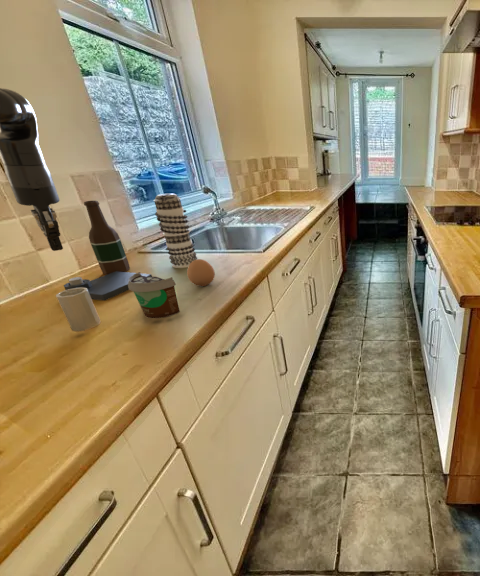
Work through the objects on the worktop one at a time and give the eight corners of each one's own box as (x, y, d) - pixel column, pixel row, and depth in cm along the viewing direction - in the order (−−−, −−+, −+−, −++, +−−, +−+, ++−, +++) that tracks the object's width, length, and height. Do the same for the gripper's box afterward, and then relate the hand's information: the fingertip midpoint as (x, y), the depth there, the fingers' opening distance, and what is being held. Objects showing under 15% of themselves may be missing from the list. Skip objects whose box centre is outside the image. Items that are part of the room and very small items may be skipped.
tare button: (68, 285, 92) (65, 280, 91) (78, 282, 94) (76, 276, 94) (76, 286, 91) (73, 280, 91) (86, 282, 94) (83, 277, 93)
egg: (222, 283, 101) (216, 257, 98) (201, 291, 95) (194, 265, 91) (206, 279, 104) (200, 254, 100) (185, 287, 98) (177, 261, 94)
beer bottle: (129, 265, 116) (105, 198, 106) (131, 271, 111) (106, 201, 101) (102, 270, 112) (74, 201, 102) (103, 277, 106) (73, 204, 96)
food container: (127, 316, 81) (113, 280, 77) (150, 305, 87) (138, 271, 83) (162, 324, 78) (150, 286, 74) (184, 312, 83) (173, 277, 79)
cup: (65, 330, 75) (49, 296, 72) (89, 319, 80) (74, 286, 77) (84, 332, 74) (68, 298, 71) (106, 321, 79) (92, 288, 76)
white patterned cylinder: (175, 261, 121) (155, 193, 110) (201, 259, 123) (184, 192, 112) (166, 269, 112) (144, 197, 102) (195, 266, 115) (176, 195, 104)
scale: (63, 297, 92) (58, 286, 91) (117, 276, 107) (113, 266, 105) (103, 301, 89) (99, 290, 88) (153, 279, 104) (149, 269, 103)
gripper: (5, 178, 78) (32, 245, 86) (14, 189, 71) (43, 260, 79) (47, 177, 84) (69, 240, 92) (59, 187, 77) (82, 254, 85)
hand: (57, 249), depth 85 cm, fingers closed
